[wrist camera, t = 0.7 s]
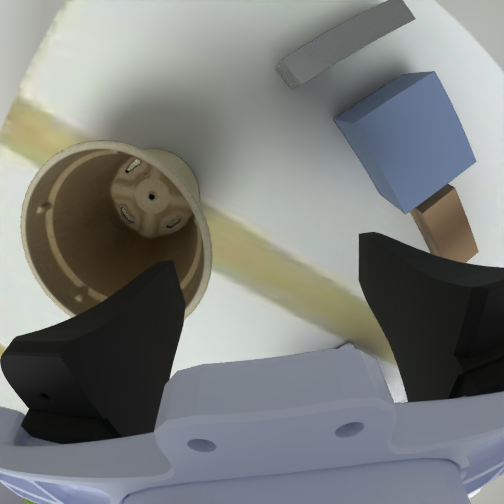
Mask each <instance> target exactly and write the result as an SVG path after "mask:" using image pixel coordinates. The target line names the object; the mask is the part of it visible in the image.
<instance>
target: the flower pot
mask: <svg viewBox="0 0 504 504" xmlns="http://www.w3.org/2000/svg"><path fill="white" fill-rule="evenodd" d="M136 159H138V160H139V161H140V165H139V166H137V167H135V168H134V169H133V170H131V171H130V172H129V173H127V172H126V170H127V169H128V166H129V165H130V164H131V163H132V162H134V161H135V160H136ZM149 194H153V195H154V196H155V198H154V199H153V200H151V199H150V198H149ZM199 202H200V194H199V187H198V183H197V180H196V178H195V176H194V174H193V172H192V170H191V169H190V167H189V166H188V165H187V164H186V163H185V162H184V161H183V160H182V159H180V158H179V157H178V156H176V155H174V154H173V153H170V152H167V151H164V150H161V149H144V150H143V149H141V148H139V147H136V146H133V145H130V144H126V143H122V142H117V141H104V140H99V141H89V142H84V143H79V144H75V145H73V146H70V147H68V148H66V149H64V150H62V151H61V152H59V153H57V154H56V155H54V156H53V157H52V158H51V159H50V160H48V161H47V162H46V163H45V164H44V165H43V166H42V167H41V168H40V170H39V171H38V172H37V174H36V175H35V177H34V178H33V180H32V181H31V183H30V185H29V187H28V190H27V192H26V195H25V199H24V202H23V205H22V214H21V225H20V228H21V238H22V244H23V248H24V252H25V257H26V259H27V262H28V264H29V267H30V269H31V271H32V273H33V275H34V277H35V279H36V280H37V282H38V283H39V285H40V286H41V287H42V289H43V290H44V291H45V293H46V295H47V296H49V298H50V299H51V300H52V301H53V302H54V303H55V304H56V305H57V306H58V307H59V308H60V309H62V310H63V311H64V312H65V313H67V314H68V315H69V316H71V317H74V316H76V315H78V314H81V313H83V312H85V311H87V310H88V309H90V308H92V307H94V306H95V305H97V304H99V303H101V302H102V301H104V300H105V299H107V298H108V297H110V296H111V295H113V294H114V293H115V292H117V291H118V290H120V289H121V288H122V287H124V286H125V285H127V284H128V283H129V282H130V281H132V280H133V279H134V278H136V277H137V276H138V275H140V274H141V273H142V272H144V271H145V270H146V269H148V268H149V267H150V266H152V265H153V264H155V263H157V262H161V261H168V260H173V262H174V266H175V269H176V273H177V276H178V280H179V283H180V286H181V290H182V293H183V296H184V299H185V303H186V306H185V315H184V319H186V318H187V317H188V316H189V315H190V314H191V313H192V312H193V311H194V310H195V308H196V307H197V306H198V304H199V303H200V300H201V299H202V297H203V295H204V293H205V291H206V289H207V286H208V282H209V279H210V275H211V269H212V244H211V237H210V232H209V228H208V224H207V221H206V218H205V215H204V213H203V211H202V208H201V206H200V204H199ZM122 207H123V208H124V209H125V210H126V212H127V213H128V214H129V216H130V217H131V218H132V219H133V220H134V221H133V222H130V221H129V220H127V219H126V218H125V216H124V215H123V214H122V210H121V208H122ZM177 218H178V219H180V220H181V221H179V222H178V223H177V224H176V225H174V226H173V227H166V226H167V225H168V224H169V223H171V220H175V219H177Z"/></svg>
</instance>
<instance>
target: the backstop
mask: <svg viewBox="0 0 504 504" xmlns="http://www.w3.org/2000/svg"><path fill="white" fill-rule="evenodd" d="M415 19H416V18H415V17H414V16H413V14H412V13H411V11H410V10H409V8H408V7H407V6H406V4H405V3H404V2H403V0H388V1H386V2H383V3H381V4H379V5H377V6H375V7H373V8H371V9H369V10H367V11H365V12H363V13H361V14H359V15H357V16H355V17H353V18H352V19H350V20H348V21H346V22H344V23H342V24H340V25H339V26H337V27H335V28H333V29H332V30H330V31H328V32H326V33H325V34H323V35H321V36H319V37H318V38H316V39H314V40H313V41H311V42H309V43H308V44H306V45H304V46H303V47H301V48H300V49H298V50H296V51H295V52H293V53H292V54H290V55H289V56H287V57H285V58H284V59H282V60H281V62H280V63H279V64H278V66H277V67H276V68H275V69H276V71H277V72H278V73H279V74H280V75H281V77H282V78H283V79H284V81H285V82H286V83H287V84H288V86H289V87H290V88H291V89H293V88H295V87H298V86H301V85H303V84H304V83H306V82H307V81H309V80H310V79H312V78H313V77H315V76H317V75H318V74H320V73H321V72H323V71H324V70H326V69H328V68H329V67H331V66H332V65H334V64H336V63H337V62H339V61H341V60H342V59H344V58H346V57H347V56H349V55H351V54H352V53H354V52H356V51H357V50H359V49H361V48H363V47H364V46H366V45H368V44H370V43H371V42H373V41H375V40H377V39H378V38H380V37H382V36H384V35H386V34H388V33H389V32H391V31H393V30H395V29H397V28H399V27H401V26H403V25H405V24H407V23H409V22H411V21H413V20H415Z"/></svg>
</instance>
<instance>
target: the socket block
mask: <svg viewBox="0 0 504 504" xmlns="http://www.w3.org/2000/svg"><path fill="white" fill-rule="evenodd" d="M333 120H334V121H335V123H336V124H337V126H338V127H339V128H340V130H341V131H342V133H343V134H344V136H345V138H346V139H347V141H348V142H349V144H350V145H351V147H352V148H353V150H354V151H355V153H356V155H357V156H358V158H359V159H360V161H361V163H362V164H363V166H364V168H365V169H366V171H367V173H368V174H369V176H370V178H371V179H372V181H373V183H374V184H375V186H376V188H377V190H378V191H379V193H380V195H382V196H383V197H384V198H386V199H387V200H388V201H389V202H391V203H392V204H393V205H394V206H396V207H397V208H398V209H399V210H401V211H402V212H403V213H404V214H407V213H408V212H410V211H411V210H412V209H414V208H415V207H417V206H418V205H419V204H421V203H422V202H423V201H425V200H426V199H427V198H429V197H430V196H432V195H433V194H434V193H436V192H437V191H438V190H440V189H441V188H442V187H444V186H445V185H446V184H448V183H449V182H450V181H452V180H453V179H454V178H455V177H457V176H458V175H459V174H461V173H462V172H463V171H465V170H466V169H467V168H468V167H470V166H471V165H472V164H474V163H475V162H476V160H475V157H474V154H473V152H472V149H471V147H470V144H469V142H468V139H467V137H466V134H465V132H464V130H463V127H462V125H461V123H460V121H459V118H458V116H457V114H456V112H455V110H454V108H453V105H452V103H451V101H450V99H449V97H448V95H447V93H446V91H445V89H444V88H443V86H442V84H441V82H440V80H439V78H438V76H437V75H436V73H435V71H432V72H420V73H410V74H403V75H401V76H400V77H398V78H396V79H395V80H393V81H392V82H390V83H388V84H387V85H385V86H384V87H382V88H380V89H379V90H377V91H376V92H374V93H372V94H371V95H369V96H368V97H366V98H365V99H363V100H362V101H360V102H359V103H357V104H355V105H354V106H352V107H351V108H349V109H348V110H346V111H345V112H343V113H342V114H340V115H339V116H337V117H336V118H334V119H333Z"/></svg>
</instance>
